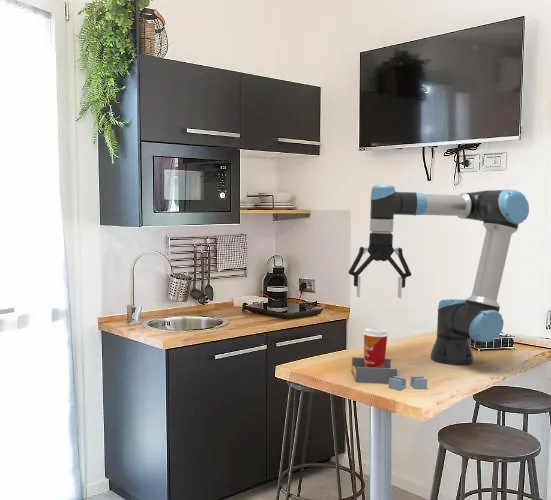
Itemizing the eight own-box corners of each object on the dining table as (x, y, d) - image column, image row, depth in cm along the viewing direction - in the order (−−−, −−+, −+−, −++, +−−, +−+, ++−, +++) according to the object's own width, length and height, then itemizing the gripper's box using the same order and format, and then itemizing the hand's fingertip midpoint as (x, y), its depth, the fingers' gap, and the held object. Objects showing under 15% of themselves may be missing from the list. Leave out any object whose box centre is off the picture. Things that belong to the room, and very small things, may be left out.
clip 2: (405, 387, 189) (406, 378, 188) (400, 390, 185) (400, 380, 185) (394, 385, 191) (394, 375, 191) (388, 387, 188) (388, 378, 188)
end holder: (389, 372, 206) (390, 358, 206) (396, 384, 192) (397, 369, 192) (351, 371, 206) (352, 357, 206) (355, 382, 193) (356, 367, 193)
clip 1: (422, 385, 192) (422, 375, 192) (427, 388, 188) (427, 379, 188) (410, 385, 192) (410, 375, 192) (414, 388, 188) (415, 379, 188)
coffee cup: (358, 371, 203) (360, 327, 202) (382, 371, 204) (384, 327, 203) (364, 378, 195) (366, 332, 194) (389, 378, 196) (391, 332, 195)
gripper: (417, 233, 201) (414, 296, 202) (342, 231, 201) (339, 294, 203) (422, 234, 193) (419, 299, 195) (344, 231, 194) (341, 297, 195)
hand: (378, 297), depth 199 cm, fingers open, 13 cm apart
